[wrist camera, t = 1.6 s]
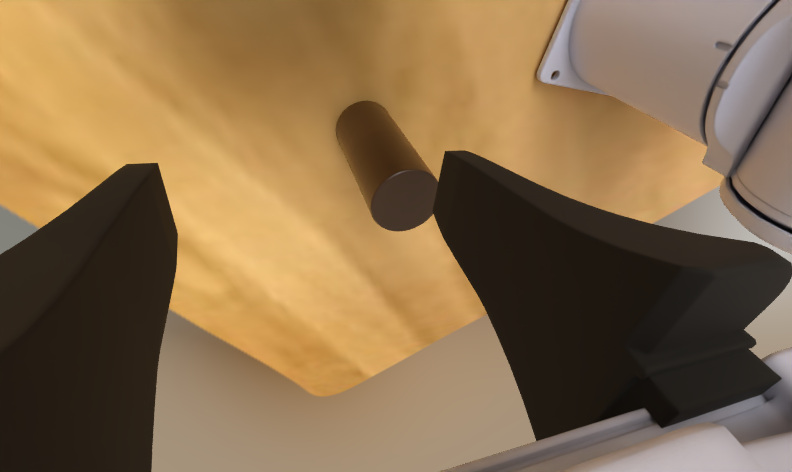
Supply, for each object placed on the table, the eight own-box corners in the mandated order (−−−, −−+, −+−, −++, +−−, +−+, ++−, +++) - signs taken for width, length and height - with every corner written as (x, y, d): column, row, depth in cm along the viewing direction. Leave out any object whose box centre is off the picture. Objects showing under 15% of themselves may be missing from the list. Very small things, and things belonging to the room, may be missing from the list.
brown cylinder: (396, 104, 21) (451, 172, 16) (383, 156, 22) (429, 232, 17) (340, 96, 20) (380, 167, 15) (331, 152, 21) (364, 232, 16)
